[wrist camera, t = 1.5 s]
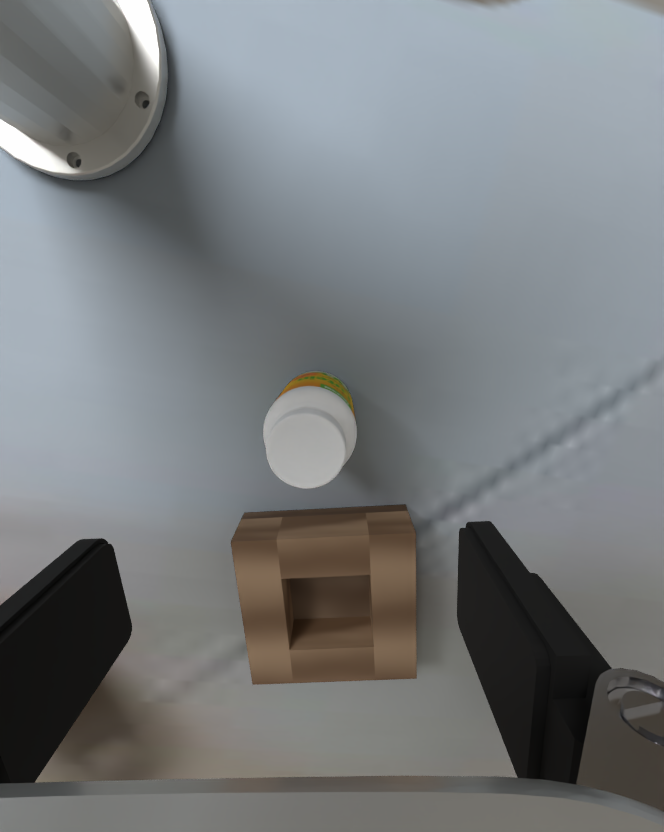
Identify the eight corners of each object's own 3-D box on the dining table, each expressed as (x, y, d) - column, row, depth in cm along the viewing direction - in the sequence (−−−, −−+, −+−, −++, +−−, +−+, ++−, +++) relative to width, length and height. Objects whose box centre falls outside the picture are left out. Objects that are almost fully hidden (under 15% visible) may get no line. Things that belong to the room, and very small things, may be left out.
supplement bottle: (361, 380, 27) (374, 414, 17) (342, 447, 28) (344, 512, 19) (289, 361, 27) (263, 386, 17) (273, 430, 28) (241, 488, 19)
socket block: (244, 512, 30) (230, 541, 26) (405, 504, 29) (415, 532, 25) (262, 641, 33) (252, 684, 29) (407, 635, 33) (416, 678, 29)
